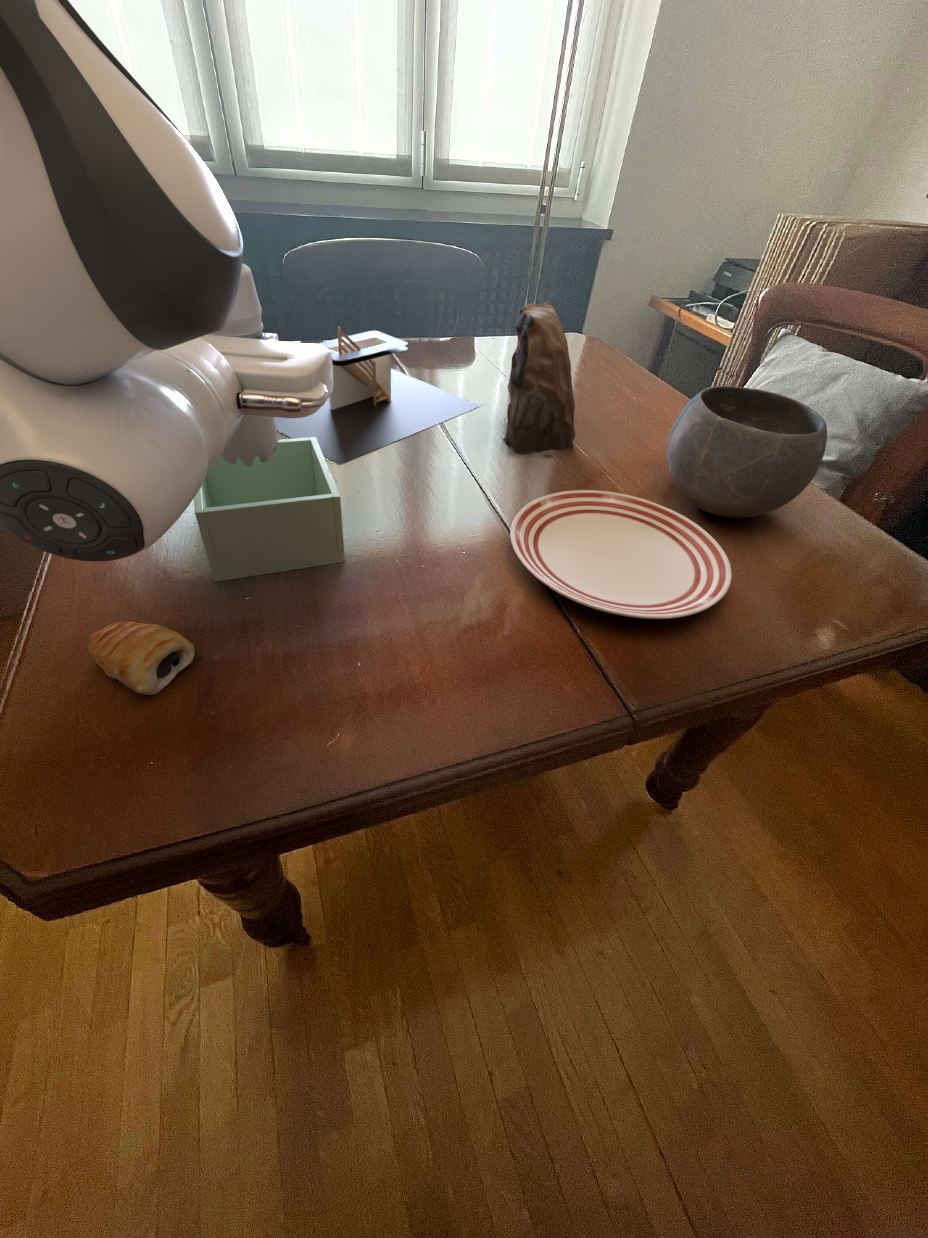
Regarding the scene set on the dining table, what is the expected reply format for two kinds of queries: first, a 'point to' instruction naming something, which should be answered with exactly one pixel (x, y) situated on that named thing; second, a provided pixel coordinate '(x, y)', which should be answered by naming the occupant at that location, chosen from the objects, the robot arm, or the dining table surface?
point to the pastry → (141, 654)
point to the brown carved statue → (540, 384)
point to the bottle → (253, 431)
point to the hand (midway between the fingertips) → (228, 338)
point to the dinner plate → (620, 554)
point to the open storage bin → (271, 513)
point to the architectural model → (371, 400)
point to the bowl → (744, 450)
